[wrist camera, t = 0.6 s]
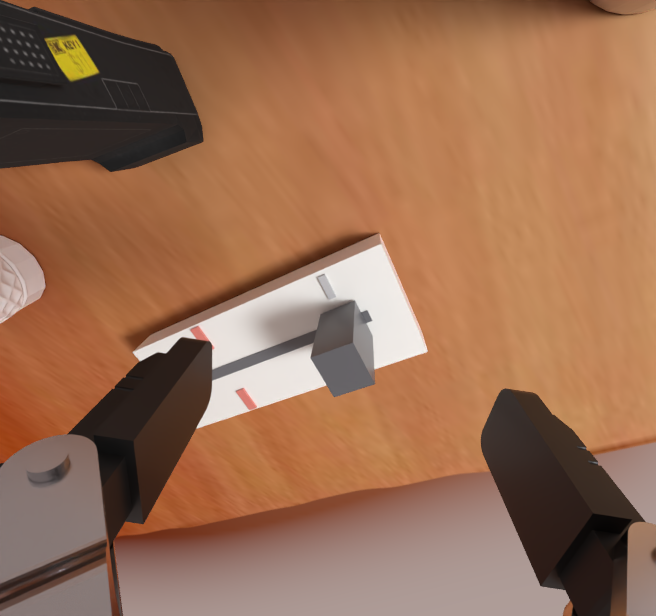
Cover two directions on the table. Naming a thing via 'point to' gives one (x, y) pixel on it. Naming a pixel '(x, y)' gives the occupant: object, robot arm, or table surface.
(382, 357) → the panel
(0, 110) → the portable radio
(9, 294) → the white cup
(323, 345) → the fader tab
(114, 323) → the table surface
